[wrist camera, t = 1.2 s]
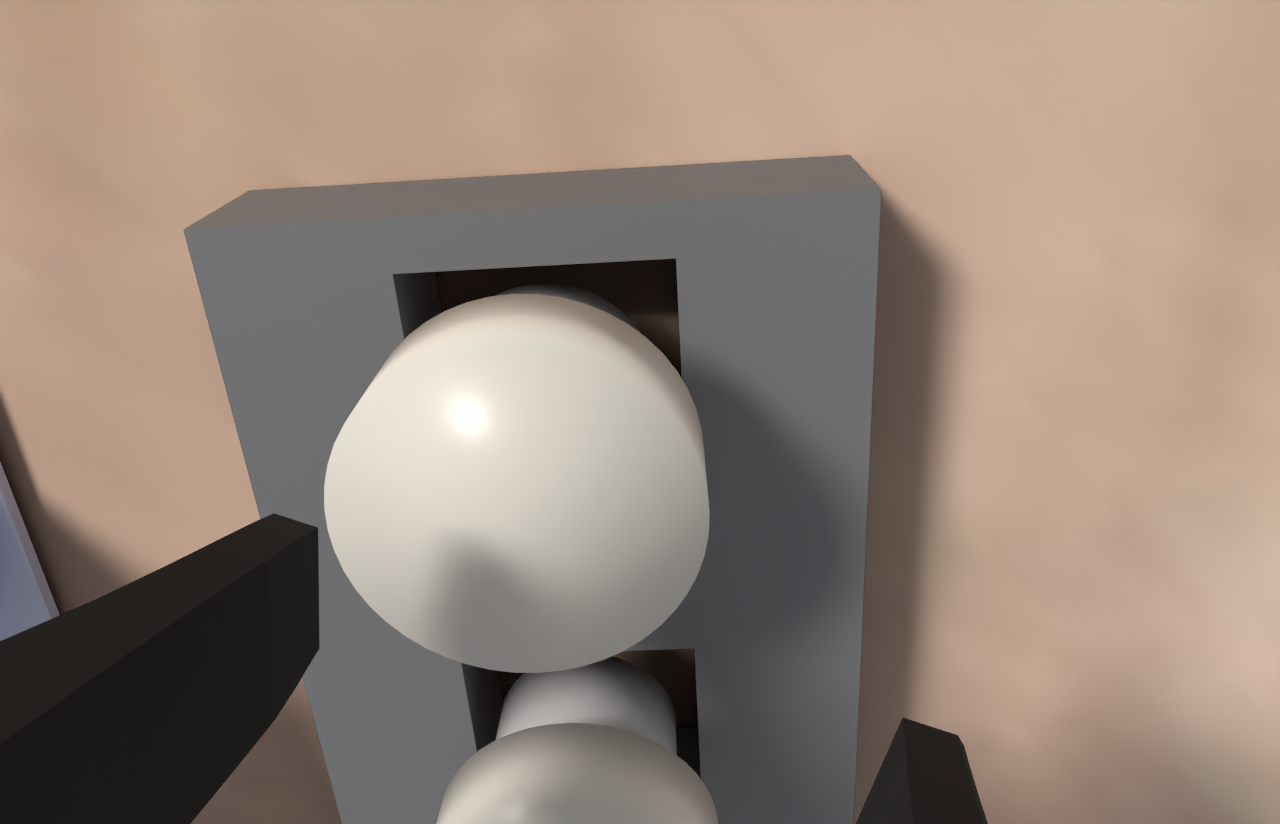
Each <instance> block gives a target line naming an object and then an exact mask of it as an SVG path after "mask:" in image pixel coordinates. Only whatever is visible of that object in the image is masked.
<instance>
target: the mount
mask: <svg viewBox="0 0 1280 824" xmlns="http://www.w3.org/2000/svg"><path fill="white" fill-rule="evenodd" d="M880 207H881V189H880V187H879V186H878V185H877V184H876V183H875V182H874V181H873V180H872V179H871V178H870V177H869V175H868V174H867V173H866V172H865V171H864V170H863V169H862V168H861V167H860V166H859V165H858V164H857V162H856V161H855V160H854V159H853V158H852V157H851V156H850V155H844V156H827V157H810V158H793V159H776V160H759V161H742V162H725V163H709V164H692V165H675V166H658V167H641V168H624V169H607V170H590V171H573V172H556V173H540V174H523V175H506V176H489V177H472V178H455V179H438V180H421V181H404V182H387V183H370V184H354V185H337V186H320V187H303V188H286V189H269V190H252V191H248V192H246V193H244V194H243V195H241V196H239V197H237V198H236V199H234V200H232V201H231V202H229V203H227V204H226V205H224V206H222V207H221V208H219V209H217V210H216V211H214V212H212V213H211V214H209V215H207V216H205V217H204V218H202V219H200V220H199V221H197V222H195V223H194V224H192V225H190V226H189V227H187V228H185V229H184V233H185V237H186V241H187V245H188V248H189V252H190V256H191V260H192V263H193V267H194V271H195V275H196V278H197V282H198V286H199V290H200V294H201V297H202V301H203V305H204V309H205V312H206V316H207V320H208V324H209V327H210V331H211V335H212V339H213V342H214V346H215V350H216V354H217V357H218V361H219V365H220V369H221V372H222V376H223V380H224V384H225V387H226V391H227V395H228V399H229V402H230V406H231V410H232V414H233V417H234V421H235V425H236V429H237V432H238V436H239V440H240V444H241V448H242V451H243V455H244V459H245V463H246V466H247V470H248V474H249V478H250V481H251V485H252V489H253V493H254V496H255V500H256V504H257V508H258V511H259V515H260V519H262V518H265V517H267V516H269V515H271V514H273V513H275V514H278V515H281V516H284V517H287V518H290V519H293V520H296V521H299V522H302V523H306V524H309V525H312V526H315V527H318V555H319V646H320V648H319V650H318V652H317V653H316V655H315V657H314V658H313V660H312V662H311V663H310V665H309V666H308V668H307V670H306V671H305V673H304V675H303V676H302V677H303V680H304V684H305V688H306V692H307V695H308V699H309V703H310V707H311V710H312V714H313V718H314V722H315V725H316V729H317V733H318V737H319V740H320V744H321V748H322V752H323V755H324V759H325V763H326V767H327V771H328V774H329V778H330V782H331V786H332V789H333V793H334V797H335V801H336V804H337V808H338V812H339V816H340V819H341V823H342V824H436V823H437V819H438V815H439V811H440V807H441V804H442V800H443V796H444V793H445V791H446V789H447V786H448V784H449V782H450V781H451V779H452V778H453V776H454V775H455V773H456V772H457V770H458V769H459V768H460V767H461V766H462V765H463V764H464V763H465V762H466V761H467V760H468V759H469V758H470V757H471V756H472V755H474V754H475V753H476V752H477V751H479V750H480V749H482V748H483V747H485V746H487V745H488V744H490V743H492V742H493V741H495V740H496V735H497V731H498V726H499V721H500V716H501V711H502V707H503V699H502V693H501V687H500V680H499V674H498V671H496V670H489V669H485V668H480V667H476V666H471V665H467V664H464V663H461V662H458V661H455V660H452V659H449V658H446V657H444V656H442V655H440V654H438V653H435V652H433V651H431V650H429V649H427V648H424V647H423V646H421V645H419V644H418V643H416V642H414V641H413V640H411V639H409V638H407V637H406V636H404V635H403V634H402V633H400V632H399V631H398V630H396V629H395V628H394V627H392V626H391V625H390V624H388V623H387V622H386V621H385V620H384V619H383V618H381V617H380V616H379V615H378V614H377V613H376V612H375V611H374V610H373V609H372V608H371V607H370V606H369V605H368V604H367V603H366V601H365V600H364V599H363V598H362V597H361V595H360V594H359V593H358V592H357V591H356V589H355V588H354V586H353V585H352V583H351V582H350V580H349V578H348V577H347V575H346V574H345V572H344V571H343V569H342V566H341V564H340V562H339V560H338V558H337V556H336V554H335V552H334V549H333V546H332V542H331V539H330V536H329V533H328V529H327V523H326V517H325V510H324V483H325V477H326V470H327V464H328V461H329V458H330V455H331V452H332V449H333V445H334V443H335V441H336V439H337V437H338V435H339V433H340V431H341V429H342V427H343V425H344V423H345V422H346V420H347V419H348V417H349V415H350V414H351V412H352V411H353V409H354V408H355V406H356V405H357V403H358V402H359V400H360V399H361V397H362V396H363V394H364V393H365V391H366V390H367V388H368V387H369V385H370V384H371V382H372V381H373V379H374V378H375V376H376V375H377V373H378V372H379V370H380V369H381V367H382V366H383V364H384V363H385V362H386V360H387V359H388V357H389V356H390V355H391V353H392V352H393V350H394V349H395V348H396V347H397V346H398V345H399V344H400V343H401V342H402V341H403V340H404V339H405V338H406V337H407V336H408V335H409V334H410V333H412V332H413V331H414V330H416V329H417V328H418V327H420V326H421V325H422V324H423V323H425V322H426V321H428V320H430V319H432V318H433V317H435V316H437V315H439V314H440V313H442V311H441V305H440V298H439V292H438V286H437V279H436V273H435V272H439V271H457V270H475V269H493V268H512V267H530V266H548V265H566V264H584V263H602V262H620V261H639V260H657V259H675V258H676V275H677V295H678V316H679V337H680V358H681V378H682V380H683V382H684V383H685V385H686V387H687V388H688V390H689V393H690V395H691V397H692V400H693V402H694V404H695V407H696V409H697V413H698V417H699V421H700V424H701V428H702V436H703V445H704V455H705V467H706V478H707V489H708V500H709V511H710V516H709V536H708V541H707V546H706V551H705V556H704V559H703V561H702V564H701V567H700V570H699V573H698V575H697V577H696V579H695V581H694V583H693V585H692V586H691V588H690V590H689V592H688V594H687V595H686V597H685V598H684V599H683V601H682V602H681V603H680V605H679V606H678V607H677V609H676V610H675V611H674V612H673V613H672V614H671V615H670V616H669V617H668V618H667V620H666V621H665V622H664V623H663V624H662V625H661V626H660V627H658V628H657V629H656V630H654V631H653V632H652V633H651V634H649V635H648V636H647V637H646V638H644V639H643V640H641V641H640V642H638V643H636V644H635V645H633V646H631V647H630V648H628V649H626V650H625V651H639V650H665V649H691V648H694V651H695V672H696V693H697V714H698V727H685V728H676V744H677V756H678V757H679V758H681V759H682V760H683V761H685V762H686V763H687V764H688V765H689V766H690V767H691V768H692V769H693V770H694V771H695V772H696V773H697V775H698V776H699V777H700V779H701V780H702V782H703V783H704V784H705V786H706V787H707V789H708V791H709V793H710V795H711V797H712V799H713V802H714V805H715V809H716V812H717V819H718V824H854V804H855V781H856V758H857V735H858V712H859V689H860V666H861V643H862V620H863V597H864V574H865V551H866V528H867V505H868V482H869V459H870V436H871V413H872V390H873V367H874V344H875V321H876V298H877V275H878V253H879V230H880Z"/></svg>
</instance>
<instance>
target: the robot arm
mask: <svg viewBox="0 0 1280 824" xmlns="http://www.w3.org/2000/svg"><path fill="white" fill-rule="evenodd" d="M319 648H320V646H319V555H318V527H315V526H312V525H309V524H306V523H302V522H299V521H296V520H293V519H290V518H287V517H284V516H281V515H278V514H275V513H273V514H271V515H269V516H267V517H265V518H262V519H260V520H258V521H256V522H254V523H252V524H250V525H248V526H246V527H243V528H241V529H239V530H237V531H235V532H233V533H231V534H229V535H227V536H225V537H223V538H221V539H219V540H217V541H215V542H213V543H211V544H209V545H207V546H205V547H203V548H201V549H199V550H197V551H195V552H193V553H191V554H189V555H187V556H185V557H183V558H181V559H179V560H177V561H175V562H173V563H171V564H169V565H167V566H165V567H163V568H161V569H159V570H156V571H154V572H152V573H150V574H148V575H146V576H144V577H142V578H140V579H138V580H136V581H134V582H132V583H129V584H127V585H125V586H123V587H121V588H119V589H117V590H115V591H113V592H111V593H109V594H107V595H105V596H102V597H100V598H98V599H96V600H94V601H91V602H89V603H87V604H84V605H82V606H80V607H78V608H75V609H73V610H71V611H68V612H66V613H64V614H61V615H60V614H59V612H58V609H57V607H56V604H55V602H54V599H53V596H52V594H51V591H50V589H49V586H48V583H47V581H46V578H45V576H44V573H43V571H42V568H41V565H40V563H39V560H38V558H37V555H36V553H35V550H34V547H33V545H32V542H31V540H30V537H29V534H28V532H27V529H26V527H25V524H24V522H23V519H22V516H21V514H20V511H19V509H18V506H17V504H16V501H15V498H14V496H13V493H12V491H11V488H10V485H9V483H8V480H7V478H6V475H5V473H4V470H3V467H2V465H1V462H0V824H190V823H191V822H192V821H193V820H194V819H195V817H196V816H197V815H198V814H199V812H200V811H201V810H202V809H203V808H204V806H205V805H206V804H207V803H208V801H209V800H210V799H211V798H212V797H213V795H214V794H215V793H216V792H217V791H218V789H219V788H220V787H221V786H222V784H223V783H224V782H225V781H226V780H227V778H228V777H229V776H230V775H231V774H232V772H233V771H234V770H235V769H236V767H237V766H238V765H239V764H240V762H241V761H242V760H243V759H244V757H245V756H246V755H247V754H248V753H249V751H250V750H251V749H252V748H253V746H254V745H255V744H256V743H257V741H258V740H259V739H260V738H261V736H262V735H263V734H264V733H265V731H266V730H267V729H268V728H269V726H270V725H271V724H272V722H273V721H274V720H275V719H276V717H277V715H278V714H279V712H280V711H281V709H282V708H283V706H284V705H285V703H286V702H287V700H288V699H289V697H290V695H291V694H292V692H293V691H294V689H295V688H296V686H297V685H298V683H299V681H300V680H301V678H302V676H303V675H304V673H305V671H306V670H307V668H308V666H309V665H310V663H311V662H312V660H313V658H314V657H315V655H316V653H317V652H318V650H319ZM856 824H988V823H987V820H986V817H985V814H984V811H983V808H982V805H981V802H980V798H979V795H978V792H977V789H976V786H975V782H974V779H973V775H972V772H971V769H970V765H969V762H968V758H967V755H966V751H965V748H964V745H963V743H962V742H961V740H960V738H959V737H958V735H955V734H952V733H949V732H945V731H942V730H939V729H936V728H933V727H930V726H927V725H924V724H921V723H918V722H915V721H912V720H909V719H905V718H902V721H901V723H900V725H899V727H898V730H897V732H896V734H895V736H894V739H893V741H892V743H891V746H890V748H889V750H888V752H887V755H886V757H885V759H884V761H883V764H882V766H881V768H880V770H879V773H878V775H877V777H876V779H875V782H874V784H873V786H872V789H871V791H870V793H869V795H868V798H867V800H866V802H865V804H864V807H863V809H862V811H861V813H860V816H859V818H858V820H857V822H856Z"/></svg>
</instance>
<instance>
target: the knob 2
mask: <svg viewBox="0 0 1280 824" xmlns="http://www.w3.org/2000/svg"><path fill="white" fill-rule="evenodd" d="M436 824H718V819H717V812H716V809H715V805H714V802H713V799H712V797H711V795H710V793H709V791H708V789H707V787H706V786H705V784H704V783H703V782H702V780H701V779H700V777H699V776H698V775H697V773H696V772H695V771H694V770H693V769H692V768H691V767H690V766H689V765H688V764H687V763H686V762H685V761H683V760H682V759H681V758H679V757H678V756H677V744H676V717H675V710H674V707H673V704H672V701H671V700H670V698H669V696H668V694H667V692H666V691H665V689H664V688H663V687H662V685H661V684H660V683H659V682H658V681H657V680H656V679H655V678H654V677H652V676H651V675H650V674H649V673H648V672H646V671H645V670H643V669H641V668H640V667H638V666H636V665H634V664H632V663H630V662H628V661H625V660H622V659H619V658H616V657H612V656H611V657H609V658H607V659H605V660H602V661H598V662H595V663H592V664H589V665H586V666H583V667H578V668H573V669H567V670H562V671H554V672H543V673H524V674H523V675H521V676H520V677H519V678H518V679H517V681H516V682H515V683H514V684H513V685H512V687H511V688H510V690H509V691H508V693H507V695H506V697H505V700H504V703H503V707H502V711H501V716H500V721H499V726H498V731H497V735H496V740H495V741H493V742H492V743H490V744H488V745H487V746H485V747H483V748H482V749H480V750H479V751H477V752H476V753H475V754H474V755H472V756H471V757H470V758H469V759H468V760H467V761H466V762H465V763H464V764H463V765H462V766H461V767H460V768H459V769H458V770H457V772H456V773H455V775H454V776H453V778H452V779H451V781H450V782H449V784H448V786H447V789H446V791H445V793H444V796H443V800H442V804H441V807H440V811H439V815H438V819H437V823H436Z"/></svg>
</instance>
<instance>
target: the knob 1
mask: <svg viewBox="0 0 1280 824" xmlns="http://www.w3.org/2000/svg"><path fill="white" fill-rule="evenodd" d="M324 510H325V517H326V523H327V529H328V533H329V536H330V539H331V542H332V546H333V549H334V552H335V554H336V556H337V558H338V560H339V562H340V564H341V566H342V569H343V571H344V572H345V574H346V575H347V577H348V578H349V580H350V582H351V583H352V585H353V586H354V588H355V589H356V591H357V592H358V593H359V594H360V595H361V597H362V598H363V599H364V600H365V601H366V603H367V604H368V605H369V606H370V607H371V608H372V609H373V610H374V611H375V612H376V613H377V614H378V615H379V616H380V617H381V618H383V619H384V620H385V621H386V622H387V623H388V624H390V625H391V626H392V627H394V628H395V629H396V630H398V631H399V632H400V633H402V634H403V635H404V636H406V637H407V638H409V639H411V640H413V641H414V642H416V643H418V644H419V645H421V646H423V647H424V648H427V649H429V650H431V651H433V652H435V653H438V654H440V655H442V656H444V657H446V658H449V659H452V660H455V661H458V662H461V663H464V664H467V665H471V666H476V667H480V668H485V669H489V670H496V671H505V672H513V673H543V672H554V671H562V670H567V669H573V668H578V667H583V666H586V665H589V664H592V663H595V662H598V661H602V660H605V659H607V658H609V657H611V656H614V655H616V654H618V653H620V652H622V651H625V650H626V649H628V648H630V647H631V646H633V645H635V644H636V643H638V642H640V641H641V640H643V639H644V638H646V637H647V636H648V635H649V634H651V633H652V632H653V631H654V630H656V629H657V628H658V627H660V626H661V625H662V624H663V623H664V622H665V621H666V620H667V618H668V617H669V616H670V615H671V614H672V613H673V612H674V611H675V610H676V609H677V607H678V606H679V605H680V603H681V602H682V601H683V599H684V598H685V597H686V595H687V594H688V592H689V590H690V588H691V586H692V585H693V583H694V581H695V579H696V577H697V575H698V573H699V570H700V567H701V564H702V561H703V559H704V556H705V551H706V546H707V541H708V536H709V516H710V511H709V500H708V489H707V478H706V467H705V455H704V445H703V436H702V428H701V424H700V421H699V417H698V413H697V409H696V407H695V404H694V402H693V400H692V397H691V395H690V393H689V390H688V388H687V387H686V385H685V383H684V382H683V380H682V378H681V377H680V375H679V373H678V372H677V370H676V369H675V368H674V366H673V365H672V364H671V363H670V361H669V360H668V359H667V358H666V356H665V355H664V354H663V353H662V352H661V351H660V350H659V349H658V348H657V347H656V346H655V345H654V344H653V343H652V342H651V341H649V340H648V339H647V338H646V337H645V336H644V335H642V334H641V333H640V332H639V330H638V329H637V327H636V326H635V325H634V324H633V322H632V321H631V320H630V319H629V318H628V317H627V316H626V315H625V314H624V313H623V312H622V311H621V310H620V309H618V308H617V307H616V306H614V305H613V304H612V303H610V302H609V301H607V300H606V299H604V298H602V297H600V296H598V295H597V294H594V293H592V292H589V291H587V290H584V289H582V288H578V287H574V286H570V285H564V284H557V283H536V284H528V285H523V286H519V287H515V288H512V289H509V290H507V291H504V292H501V293H499V294H497V295H496V296H490V297H486V298H482V299H478V300H474V301H470V302H466V303H463V304H461V305H458V306H456V307H453V308H451V309H448V310H446V311H444V312H442V313H440V314H439V315H437V316H435V317H433V318H432V319H430V320H428V321H426V322H425V323H423V324H422V325H421V326H420V327H418V328H417V329H416V330H414V331H413V332H412V333H410V334H409V335H408V336H407V337H406V338H405V339H404V340H403V341H402V342H401V343H400V344H399V345H398V346H397V347H396V348H395V349H394V350H393V352H392V353H391V355H390V356H389V357H388V359H387V360H386V362H385V363H384V364H383V366H382V367H381V369H380V370H379V372H378V373H377V375H376V376H375V378H374V379H373V381H372V382H371V384H370V385H369V387H368V388H367V390H366V391H365V393H364V394H363V396H362V397H361V399H360V400H359V402H358V403H357V405H356V406H355V408H354V409H353V411H352V412H351V414H350V415H349V417H348V419H347V420H346V422H345V423H344V425H343V427H342V429H341V431H340V433H339V435H338V437H337V439H336V441H335V443H334V445H333V449H332V452H331V455H330V458H329V461H328V464H327V470H326V477H325V483H324Z"/></svg>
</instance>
